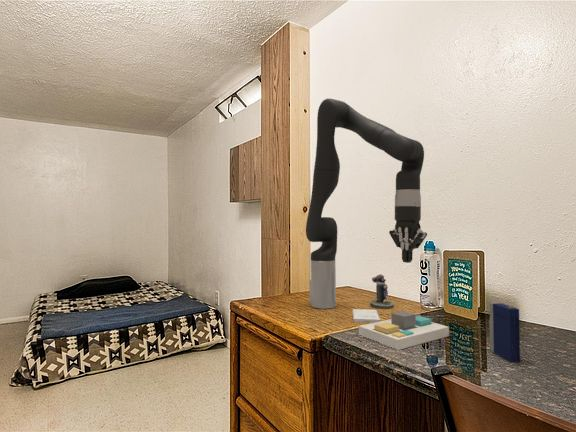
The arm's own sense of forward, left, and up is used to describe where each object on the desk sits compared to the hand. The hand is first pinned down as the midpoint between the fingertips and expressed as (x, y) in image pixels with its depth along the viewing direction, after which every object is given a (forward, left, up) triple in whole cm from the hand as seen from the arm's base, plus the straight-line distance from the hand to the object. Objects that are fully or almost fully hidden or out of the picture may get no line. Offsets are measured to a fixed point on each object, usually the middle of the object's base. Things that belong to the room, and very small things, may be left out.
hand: (407, 262), depth 110 cm
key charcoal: (+6, -9, -16) cm, 19 cm away
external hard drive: (-14, -4, -20) cm, 25 cm away
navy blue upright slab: (+29, -1, -19) cm, 35 cm away
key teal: (+6, -2, -18) cm, 19 cm away
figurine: (-22, +12, -19) cm, 32 cm away
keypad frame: (+6, -9, -19) cm, 22 cm away
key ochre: (+6, -15, -18) cm, 25 cm away
